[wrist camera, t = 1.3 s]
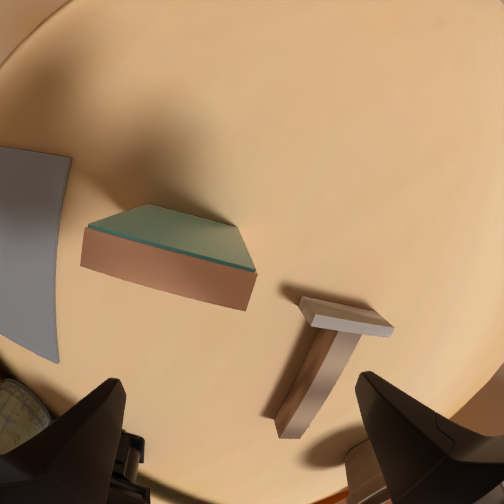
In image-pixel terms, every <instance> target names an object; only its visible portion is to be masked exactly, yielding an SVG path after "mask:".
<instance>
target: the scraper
mask: <svg viewBox="0 0 504 504" xmlns="http://www.w3.org/2000/svg"><path fill="white" fill-rule="evenodd" d="M298 307H299V309H300V310H301V312H302V313H303V315H304V317H305V318H306V320H307V321H308V323H309V324H310V326H313V327H319V328H320V329H319V331H318V333H317V336H316V338H315V340H314V342H313V344H312V346H311V349H310V351H309V353H308V355H307V357H306V359H305V361H304V363H303V365H302V367H301V369H300V371H299V373H298V375H297V377H296V379H295V381H294V383H293V385H292V387H291V389H290V391H289V393H288V395H287V397H286V399H285V400H284V402H283V404H282V406H281V408H280V410H279V411H278V413H277V415H276V417H275V419H274V421H275V425H276V429H277V433H278V437H279V439H300V438H301V436H302V435H303V434H304V432H305V431H306V429H307V428H308V426H309V425H310V423H311V422H312V420H313V419H314V417H315V416H316V414H317V413H318V411H319V410H320V408H321V407H322V405H323V403H324V402H325V400H326V399H327V397H328V395H329V394H330V392H331V390H332V389H333V387H334V385H335V384H336V382H337V380H338V378H339V377H340V375H341V373H342V371H343V370H344V368H345V366H346V364H347V362H348V360H349V359H350V357H351V355H352V353H353V351H354V349H355V347H356V345H357V343H358V341H359V339H360V337H361V335H362V334H364V335H371V336H379V337H387V338H390V336H391V334H392V332H393V330H394V327H393V326H392V325H391V324H390V323H389V322H388V321H386V320H385V319H384V318H383V317H382V316H381V315H380V314H378V313H377V312H376V311H372V310H367V309H362V308H357V307H352V306H348V305H343V304H338V303H334V302H329V301H324V300H320V299H315V298H311V297H306V296H302V297H301V300H300V303H299V305H298Z"/></svg>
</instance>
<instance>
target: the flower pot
mask: <svg viewBox="0 0 504 504" xmlns="http://www.w3.org/2000/svg"><path fill="white" fill-rule="evenodd" d="M345 467H346V475H347V482H348V488H349V495H348V497H347V498H346V502H347V504H383V503H385V502H387V501H388V500H390V499H391V498H390V495H389V492H388V489H387V486H386V483H385V481H384V478H383V475H382V472H381V469H380V466H379V464H378V461H377V458H376V455H375V453H374V450H373V447H372V445H371V442H370V440H367V441H365V442H362V443H361V444H359V445H357V446H356V447H354V448H353V449H352V450H350V451H349V452H348V453H347V455H346V457H345Z"/></svg>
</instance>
